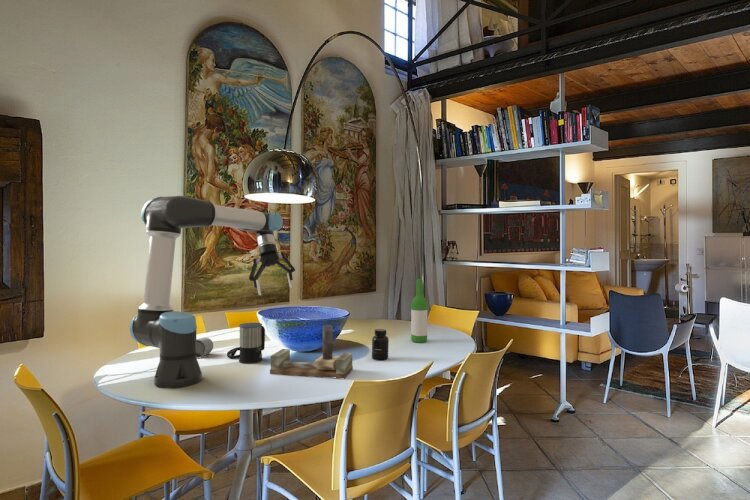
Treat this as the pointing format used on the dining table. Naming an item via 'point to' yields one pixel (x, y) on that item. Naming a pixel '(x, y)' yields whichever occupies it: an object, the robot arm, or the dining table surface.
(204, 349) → the ceramic mug
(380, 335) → the supplement bottle
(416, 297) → the wine bottle
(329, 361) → the carriage
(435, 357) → the dining table surface
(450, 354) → the dining table surface
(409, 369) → the dining table surface
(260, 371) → the dining table surface
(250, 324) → the milk frother
